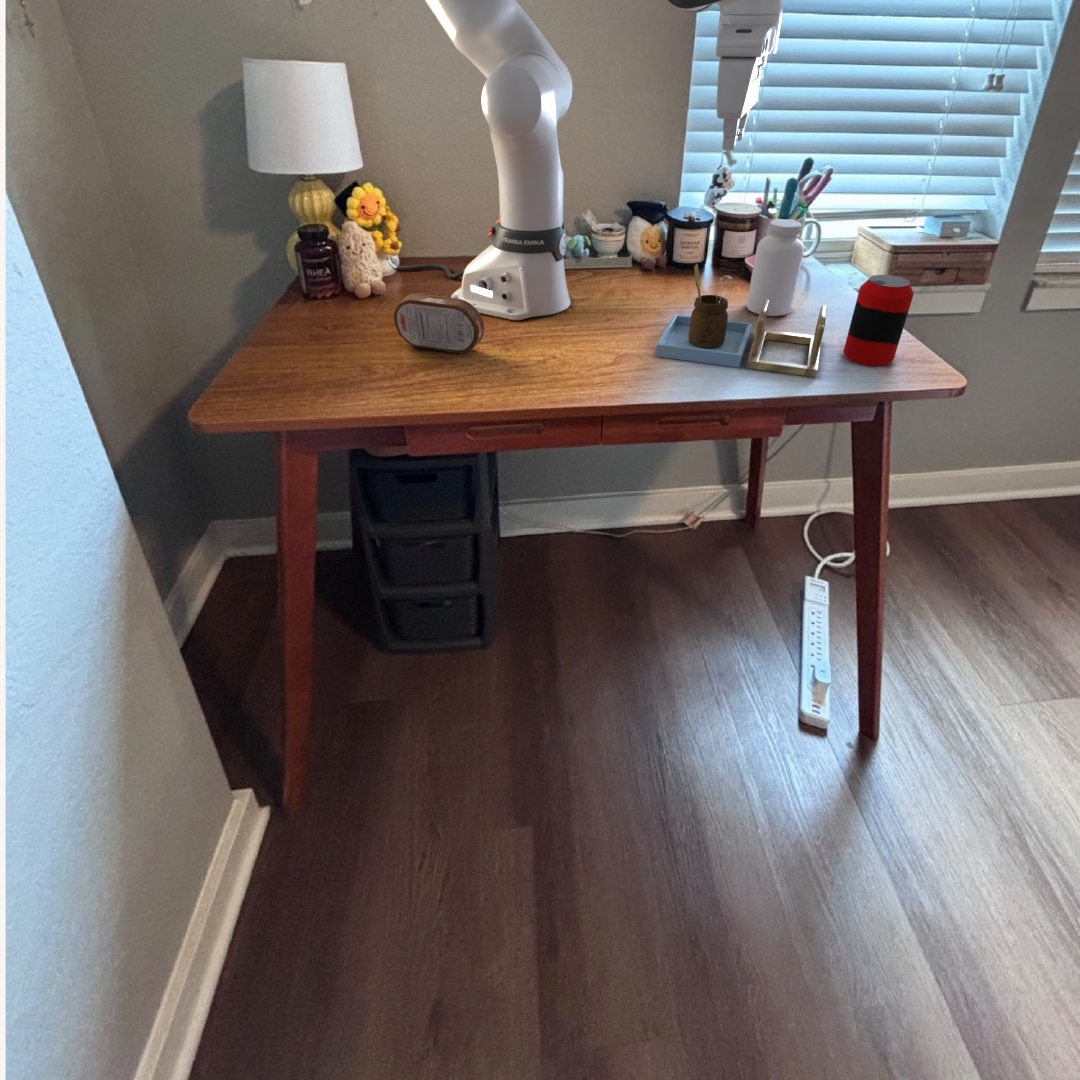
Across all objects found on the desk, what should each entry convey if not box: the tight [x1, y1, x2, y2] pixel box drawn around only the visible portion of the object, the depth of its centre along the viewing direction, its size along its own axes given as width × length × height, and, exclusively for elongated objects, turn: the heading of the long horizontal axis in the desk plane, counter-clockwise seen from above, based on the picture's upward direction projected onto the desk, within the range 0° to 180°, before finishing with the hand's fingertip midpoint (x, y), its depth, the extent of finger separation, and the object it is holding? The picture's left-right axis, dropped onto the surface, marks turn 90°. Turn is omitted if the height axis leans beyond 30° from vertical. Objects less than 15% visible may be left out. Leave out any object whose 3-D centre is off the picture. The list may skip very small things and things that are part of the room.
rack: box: [745, 299, 828, 378], centre depth 113 cm, size 10×14×7 cm
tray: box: [654, 314, 753, 368], centre depth 118 cm, size 13×14×2 cm
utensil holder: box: [689, 263, 734, 348], centre depth 115 cm, size 6×6×12 cm
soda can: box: [842, 274, 915, 367], centre depth 111 cm, size 8×8×12 cm
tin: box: [393, 292, 485, 354], centre depth 116 cm, size 15×3×8 cm, turn 71°
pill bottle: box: [746, 218, 805, 317], centre depth 127 cm, size 8×8×15 cm
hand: (732, 145), depth 114 cm, fingers open, 8 cm apart
